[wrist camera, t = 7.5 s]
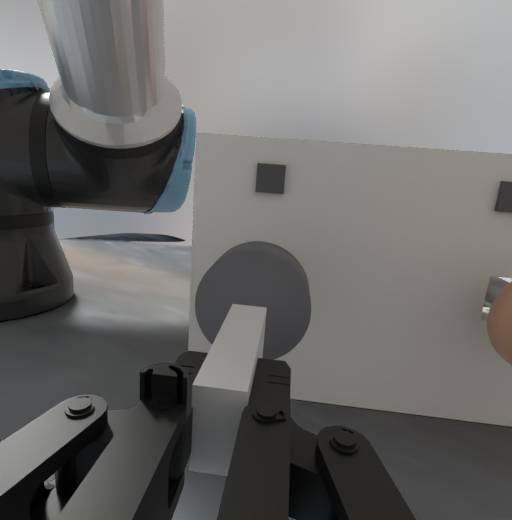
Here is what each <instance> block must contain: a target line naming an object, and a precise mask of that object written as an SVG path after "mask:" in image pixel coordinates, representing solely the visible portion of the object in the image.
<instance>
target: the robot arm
mask: <svg viewBox="0 0 512 520" xmlns="http://www.w3.org/2000/svg"><path fill="white" fill-rule="evenodd" d="M38 4H39V7H40V11H41V14H42V17H43V21H44V24H45V27H46V31H47V34H48V37H49V41H50V44H51V48H52V51H53V54H54V58H55V61H56V65H57V68H58V71H59V75H60V77H58V78H57V80H56V81H55V82H54V84H53V86H52V88H51V91H50V89H49V88H48V87H47V83H46V82H45V81H44V80H43V79H42V78H40V77H38V76H36V75H33V74H30V73H27V72H23V71H18V70H3V69H0V320H7V319H14V318H19V317H24V316H28V315H33V314H37V313H40V312H43V311H47V310H49V309H52V308H55V307H57V306H59V305H61V304H63V303H65V302H66V301H68V300H69V299H70V298H71V297H72V296H73V293H74V289H73V275H72V272H71V269H70V267H69V264H68V262H67V260H66V257H65V255H64V252H63V250H62V247H61V245H60V242H59V240H58V238H57V235H56V233H55V229H54V214H53V209H54V207H63V208H66V207H68V208H82V209H96V210H112V211H126V212H140V213H145V214H150V213H153V212H173V211H176V210H178V209H179V208H180V207H181V206H182V205H183V203H184V201H185V198H186V196H187V192H188V188H189V183H190V178H191V171H192V166H191V164H192V161H193V156H194V149H195V137H196V118H195V113H194V112H193V110H192V109H190V108H187V107H185V106H184V105H182V101H181V97H180V94H179V91H178V89H177V88H176V86H175V85H174V84H173V82H172V81H171V80H170V79H168V77H167V76H165V49H164V12H163V11H164V10H163V0H38ZM266 310H267V308H266V307H257V306H248V305H238V304H232V306H231V308H230V310H229V312H228V314H227V316H226V318H225V320H224V322H223V324H222V326H221V328H220V330H219V332H218V334H217V336H216V338H215V340H214V342H213V344H212V346H211V348H210V350H209V352H208V353H205V352H197V351H188V352H186V353H184V354H183V355H181V356H179V358H178V359H177V361H176V362H175V364H173V363H159V364H154V365H151V366H148V367H146V368H144V369H143V370H142V371H141V372H140V400H139V401H138V402H137V404H136V405H135V407H133V408H127V409H117V410H107V402H106V401H105V399H103V398H102V397H100V396H96V395H90V394H89V395H78V396H75V397H71V398H68V399H66V400H64V401H62V402H60V403H59V404H57V405H56V406H54V407H53V408H51V409H50V410H48V411H47V412H45V413H44V414H42V415H41V416H39V417H38V418H36V419H35V420H33V421H32V422H30V423H29V424H27V425H26V426H24V427H23V428H21V429H20V430H18V431H17V432H15V433H14V434H12V435H10V436H9V437H7V438H6V439H4V440H3V441H1V442H0V520H171V519H172V517H173V514H174V511H175V508H176V505H177V503H178V500H179V497H180V494H181V492H182V489H183V486H184V474H185V467H186V464H187V461H188V459H189V471H193V472H200V473H206V474H213V475H220V476H227V479H226V483H225V487H224V492H223V496H222V500H221V504H220V509H219V513H218V517H217V520H288V518H289V517H292V518H294V519H296V520H416V519H415V517H414V515H413V514H412V512H411V510H410V509H409V507H408V506H407V504H406V502H405V501H404V499H403V497H402V496H401V494H400V492H399V491H398V489H397V487H396V486H395V484H394V482H393V481H392V479H391V477H390V476H389V474H388V472H387V471H386V469H385V467H384V466H383V464H382V462H381V461H380V459H379V457H378V456H377V454H376V452H375V451H374V449H373V448H372V446H371V444H370V443H369V441H368V440H367V439H366V438H365V437H364V436H363V435H362V434H360V433H358V432H357V431H355V430H353V429H350V428H347V427H342V426H331V427H326V428H324V429H323V430H321V431H320V432H319V434H318V435H315V434H312V433H310V432H308V431H306V430H303V429H302V428H300V427H299V426H298V425H297V424H296V423H295V422H294V421H293V420H292V418H291V416H290V387H291V386H290V385H291V368H290V367H289V365H288V364H287V363H286V361H281V360H273V359H264V358H262V357H263V345H264V333H265V322H266ZM54 473H55V479H54V480H53V481H51V482H50V483H49V484H47V485H46V486H44V481H45V480H47V479H48V478H49V477H50V476H51V475H52V474H54Z"/></svg>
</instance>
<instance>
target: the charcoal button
mask: <svg viewBox="0 0 512 520" xmlns="http://www.w3.org/2000/svg"><path fill="white" fill-rule="evenodd" d="M232 304H238V305H248V306H257V307H266V308H267V310H266V322H265V333H264V345H263V357H262V358H264V359H273V360H274V359H277V358H279V357H281V356H284V355H285V354H287V353H288V352H290V351H291V350H292V349H293V348H295V347H296V346H297V344H298V343H299V342H300V341H301V340H302V338H303V337H304V335H305V333H306V331H307V329H308V326H309V323H310V318H311V299H310V291H309V283H308V279H307V276H306V273H305V271H304V269H303V267H302V265H301V264H300V263H299V261H298V260H297V259H296V258H295V257H294V256H293V255H292V254H291V253H290V252H288V251H287V250H285V249H284V248H282V247H280V246H278V245H276V244H272V243H269V242H263V241H252V242H246V243H242V244H239V245H236V246H234V247H232V248H231V249H229V250H228V251H226V252H225V253H224V254H223V255H222V256H221V257H220V258H219V259H218V260H217V261H216V262H215V263H214V264H213V265H212V266H211V267H210V268H209V269H208V271H207V272H206V273H205V274H204V276H203V278H202V279H201V281H200V283H199V286H198V288H197V292H196V296H195V313H196V318H197V321H198V324H199V327H200V329H201V331H202V333H203V334H204V336H205V337H206V338H207V340H208V341H209V342H210V343H211V344H213V342H214V340H215V338H216V336H217V334H218V332H219V330H220V328H221V326H222V324H223V322H224V320H225V318H226V316H227V314H228V312H229V310H230V308H231V306H232Z"/></svg>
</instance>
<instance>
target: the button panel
mask: <svg viewBox="0 0 512 520" xmlns="http://www.w3.org/2000/svg"><path fill="white" fill-rule="evenodd" d="M195 150H196V151H195V177H194V205H193V231H192V258H191V285H190V312H189V339H188V351H197V352H205V353H208V352H209V350H210V348H211V346H212V344H211V343H210V342H209V341H208V340H207V338H206V337H205V336H204V334H203V333H202V331H201V329H200V327H199V324H198V321H197V318H196V313H195V296H196V292H197V288H198V286H199V283H200V281H201V279H202V278H203V276H204V274H205V273H206V272H207V271H208V269H209V268H210V267H211V266H212V265H213V264H214V263H215V262H216V261H217V260H218V259H219V258H220V257H221V256H222V255H223V254H224V253H225V252H226V251H228V250H229V249H231V248H232V247H234V246H236V245H239V244H242V243H246V242H252V241H263V242H269V243H272V244H276V245H278V246H280V247H282V248H284V249H285V250H287V251H288V252H290V253H291V254H292V255H293V256H294V257H295V258H296V259H297V260H298V261H299V263H300V264H301V265H302V267H303V269H304V271H305V273H306V276H307V279H308V283H309V291H310V299H311V318H310V323H309V326H308V329H307V331H306V333H305V335H304V337H303V338H302V340H301V341H300V342H299V343H298V344H297V346H296V347H295V348H293V349H292V350H291V351H290V352H288V353H287V354H285V355H284V356H281V357H279V358H277V359H274V360H281V361H286V363H287V364H288V365H289V367H290V368H291V385H290V386H291V387H290V399H296V400H304V401H312V402H320V403H328V404H335V405H343V406H351V407H359V408H367V409H375V410H383V411H391V412H399V413H407V414H415V415H423V416H431V417H439V418H446V419H454V420H462V421H470V422H478V423H486V424H494V425H502V426H510V427H512V366H511V365H510V364H509V363H508V362H507V361H505V360H504V359H503V358H502V357H501V356H500V355H499V354H498V353H497V352H496V351H495V349H494V348H493V346H492V344H491V342H490V340H489V336H488V331H487V319H488V314H489V310H490V308H488V307H483V306H484V301H485V297H486V292H487V288H488V283H489V279H490V276H496V277H507V278H511V280H510V282H512V154H502V153H488V152H487V153H486V152H473V151H458V150H444V149H428V148H413V147H400V146H385V145H370V144H355V143H341V142H326V141H310V140H297V139H281V138H267V137H253V136H237V135H223V134H209V133H196V149H195Z"/></svg>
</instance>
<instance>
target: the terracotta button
mask: <svg viewBox="0 0 512 520" xmlns="http://www.w3.org/2000/svg"><path fill="white" fill-rule="evenodd" d="M484 303H485V304H487V305H488V306H490V310H489V314H488V319H487V331H488V336H489V340H490V342H491V344H492V346H493V348H494V349H495V351H496V352H497V353H498V354H499V355H500V356H501V357H502V358H503V359H504V360H505V361H507V362H508V363H509V364H510V365H511V366H512V282H510V283H509V282H507V281H505V280H503V279H501V278H499V277H496V276H490V279H489V283H488V288H487V292H486V297H485V301H484Z"/></svg>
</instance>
